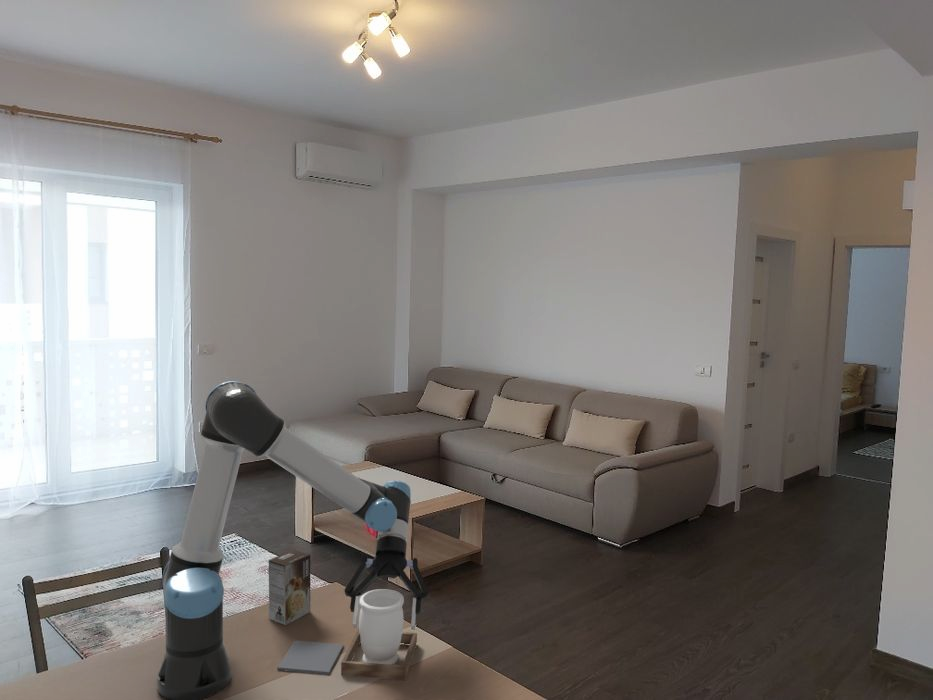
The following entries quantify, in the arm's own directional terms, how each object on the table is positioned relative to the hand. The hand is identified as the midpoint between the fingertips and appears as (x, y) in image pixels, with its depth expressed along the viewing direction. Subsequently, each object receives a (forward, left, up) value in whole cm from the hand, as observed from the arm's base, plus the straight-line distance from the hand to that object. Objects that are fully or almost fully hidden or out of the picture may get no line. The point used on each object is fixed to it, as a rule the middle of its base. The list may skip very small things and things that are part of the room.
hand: (383, 627), depth 165 cm
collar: (-1, 0, -8) cm, 8 cm away
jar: (-1, 0, -8) cm, 8 cm away
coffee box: (-29, +17, -8) cm, 34 cm away
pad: (-17, -2, -8) cm, 19 cm away
